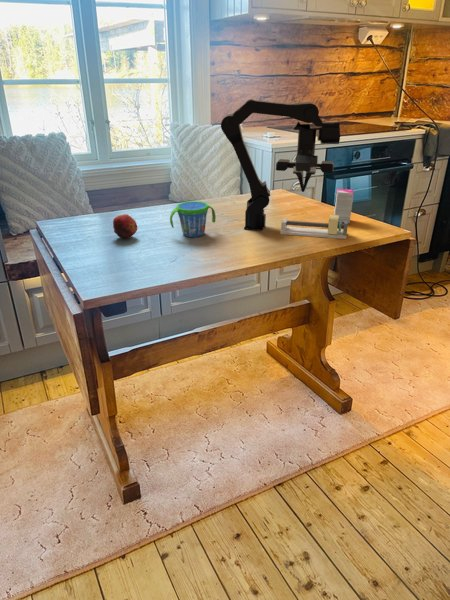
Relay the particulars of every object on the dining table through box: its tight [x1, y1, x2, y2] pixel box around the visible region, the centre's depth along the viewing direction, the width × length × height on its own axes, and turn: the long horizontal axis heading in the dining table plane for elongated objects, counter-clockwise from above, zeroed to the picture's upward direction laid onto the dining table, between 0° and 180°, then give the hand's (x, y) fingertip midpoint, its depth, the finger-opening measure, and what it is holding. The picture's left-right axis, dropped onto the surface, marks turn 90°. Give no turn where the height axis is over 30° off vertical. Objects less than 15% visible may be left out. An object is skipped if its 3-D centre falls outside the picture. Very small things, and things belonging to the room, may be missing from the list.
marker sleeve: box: [327, 214, 339, 235], centre depth 156 cm, size 3×5×5 cm, turn 166°
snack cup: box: [169, 200, 217, 238], centre depth 157 cm, size 16×10×10 cm
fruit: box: [112, 213, 138, 240], centre depth 154 cm, size 8×8×8 cm
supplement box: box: [333, 188, 355, 225], centre depth 169 cm, size 6×6×12 cm
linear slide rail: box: [280, 218, 349, 240], centre depth 158 cm, size 22×6×5 cm, turn 76°
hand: (303, 191), depth 159 cm, fingers closed
